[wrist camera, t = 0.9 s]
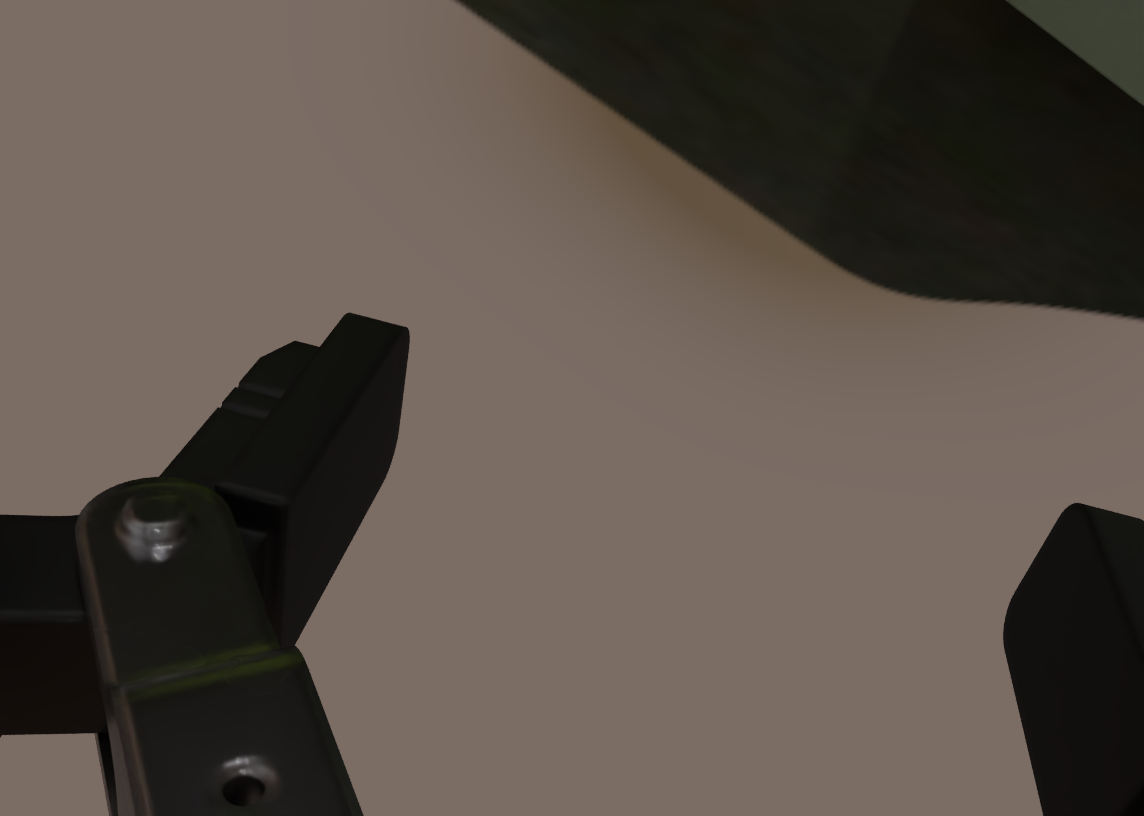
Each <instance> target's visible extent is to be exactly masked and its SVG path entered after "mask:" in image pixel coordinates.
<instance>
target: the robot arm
mask: <svg viewBox="0 0 1144 816" xmlns="http://www.w3.org/2000/svg"><path fill="white" fill-rule="evenodd" d="M409 342H410V336H409V330H408V328H407V327H403V326H399V325H396V324H391V323H388V322H383V321H380V320H376V319H372V318H369V317H365V316H361V315H357V314H353V313H347V314H345V315H344V316H343V317H342V319H341V320H340V321H339V323H338V324H337V325H336V327H335V328H334V329H333V330H332V332H331V333H330V334H329V336H328V337H327V338H326V340H325V341H324V342H323V344H322V345H321V346H320V347H317V346H313V345H309V344H306V343H302V342H298V341H293V342H291V343H289V344H287V345H285V346H283V347H281V348H279V349H277V350H275V351H273V352H271V353H269V354H267V355H265V356H263V357H261V358H260V359H259V360H258V361H257V362H256V363H255V364H254V366H253V367H252V368H251V369H250V370H249V371H248V373H247V374H246V375H245V376H244V377H243V378H242V380H241V381H240V382H239V386H238V388H237V387H235V388H234V389H233V390H232V392H231V393H230V394H229V395H228V396H227V397H226V398H225V400H224V401H223V402H222V406H221V408H217V409H216V410H215V411H214V413H213V414H212V415H211V416H210V417H209V419H208V420H207V421H206V422H205V423H204V424H203V426H202V427H201V428H200V429H199V430H198V431H197V433H196V434H195V435H194V436H193V437H192V439H191V440H190V441H189V442H188V443H187V444H186V446H185V447H184V448H183V449H182V450H181V452H180V453H179V454H178V455H177V456H176V457H175V459H174V460H173V461H172V462H171V463H170V464H169V466H168V467H167V468H166V469H165V470H164V472H163V473H162V474H161V475H160V476H159V477H152V478H142V479H137V480H132V481H128V482H125V483H122V484H119V485H116V486H114V487H111V488H109V489H107V490H105V491H104V492H102V493H100V494H99V495H97V496H96V497H95V498H93V499H92V500H91V501H90V502H89V503H88V504H87V505H86V506H85V507H84V509H83V510H82V511H81V513H80V515H74V516H29V515H27V516H26V515H0V737H1V736H2V735H24V734H76V733H95V738H96V744H97V749H98V755H99V761H100V766H101V772H102V778H103V783H104V789H105V794H106V800H107V806H108V811H109V816H363V813H362V810H361V808H360V805H359V802H358V800H357V797H356V794H355V792H354V789H353V787H352V784H351V781H350V778H349V776H348V773H347V770H346V768H345V765H344V762H343V760H342V757H341V754H340V752H339V749H338V746H337V744H336V741H335V738H334V736H333V733H332V730H331V728H330V725H329V723H328V720H327V717H326V714H325V712H324V709H323V706H322V704H321V701H320V698H319V696H318V693H317V690H316V688H315V685H314V682H313V680H312V677H311V674H310V672H309V669H308V667H307V664H306V662H305V659H304V657H303V655H302V654H301V652H300V651H299V649H298V648H297V647H296V646H294V645H295V644H296V642H297V640H298V638H299V636H300V634H301V633H302V631H303V629H304V627H305V625H306V623H307V622H308V620H309V618H310V616H311V614H312V612H313V611H314V609H315V607H316V605H317V603H318V601H319V600H320V597H321V596H322V594H323V592H324V590H325V588H326V586H327V585H328V583H329V581H330V579H331V577H332V576H333V574H334V572H335V570H336V568H337V566H338V565H339V563H340V561H341V559H342V557H343V555H344V553H345V552H346V550H347V548H348V546H349V544H350V543H351V541H352V539H353V537H354V535H355V533H356V531H357V530H358V528H359V526H360V524H361V522H362V520H363V519H364V516H365V515H366V513H367V511H368V509H369V507H370V506H371V504H372V502H373V500H374V498H375V497H376V495H377V493H378V491H379V489H380V487H381V485H382V483H383V482H384V480H385V478H386V475H387V473H388V470H389V468H390V465H391V462H392V459H393V455H394V452H395V448H396V443H397V439H398V432H399V426H400V418H401V409H402V401H403V393H404V385H405V376H406V368H407V360H408V352H409ZM1003 640H1004V641H1003V642H1004V649H1005V654H1006V658H1007V662H1008V666H1009V671H1010V675H1011V679H1012V683H1013V688H1014V692H1015V696H1016V701H1017V705H1018V709H1019V713H1020V718H1021V722H1022V726H1023V730H1024V735H1025V739H1026V743H1027V748H1028V752H1029V756H1030V760H1031V764H1032V769H1033V773H1034V777H1035V781H1036V786H1037V790H1038V795H1039V799H1040V803H1041V807H1042V812H1043V816H1144V521H1143V520H1141V519H1139V518H1135V517H1131V516H1127V515H1123V514H1119V513H1115V512H1112V511H1108V510H1104V509H1100V508H1096V507H1092V506H1088V505H1085V504H1081V503H1074V504H1072V505H1070V506H1068V507H1067V508H1066V509H1065V510H1064V511H1063V512H1062V514H1061V515H1060V517H1059V518H1058V520H1057V522H1056V523H1055V525H1054V527H1053V529H1052V530H1051V532H1050V533H1049V535H1048V537H1047V539H1046V540H1045V542H1044V544H1043V546H1042V547H1041V549H1040V550H1039V552H1038V554H1037V556H1036V557H1035V559H1034V561H1033V562H1032V564H1031V566H1030V568H1029V569H1028V571H1027V573H1026V575H1025V576H1024V578H1023V579H1022V581H1021V583H1020V584H1019V586H1018V588H1017V590H1016V591H1015V593H1014V595H1013V597H1012V599H1011V601H1010V604H1009V606H1008V609H1007V614H1006V617H1005V623H1004V632H1003Z"/></svg>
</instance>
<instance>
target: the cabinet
mask: <svg viewBox="0 0 1144 816" xmlns="http://www.w3.org/2000/svg"><path fill="white" fill-rule="evenodd" d="M1005 1H1007V2H1008V3H1009V4H1011V5H1012V6H1013V7H1015V8H1016V9H1017V10H1019V11H1020V12H1021V13H1022V14H1024V15H1025V16H1026V17H1028V18H1029V19H1030V20H1032V21H1033V22H1034V23H1035V24H1037V25H1038V26H1039V27H1041V28H1042V29H1043V30H1045V31H1046V32H1047V33H1049V34H1050V35H1051V36H1052V37H1054V38H1055V39H1056V40H1058V41H1059V42H1060V43H1062V44H1063V45H1064V46H1065V47H1067V48H1068V49H1069V50H1071V51H1072V52H1073V53H1075V54H1076V55H1077V56H1079V57H1080V58H1081V59H1082V60H1084V61H1085V62H1086V63H1088V64H1089V65H1090V66H1092V67H1093V68H1094V69H1095V70H1097V71H1098V72H1099V73H1101V74H1102V75H1103V76H1105V77H1106V78H1107V79H1109V80H1110V81H1111V82H1112V83H1114V84H1115V85H1116V86H1118V87H1119V88H1120V89H1122V90H1123V91H1124V92H1126V93H1127V94H1128V95H1129V96H1131V97H1132V98H1133V99H1135V100H1136V101H1137V102H1139V103H1140V104H1141V105H1142V106H1144V0H1005Z"/></svg>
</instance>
